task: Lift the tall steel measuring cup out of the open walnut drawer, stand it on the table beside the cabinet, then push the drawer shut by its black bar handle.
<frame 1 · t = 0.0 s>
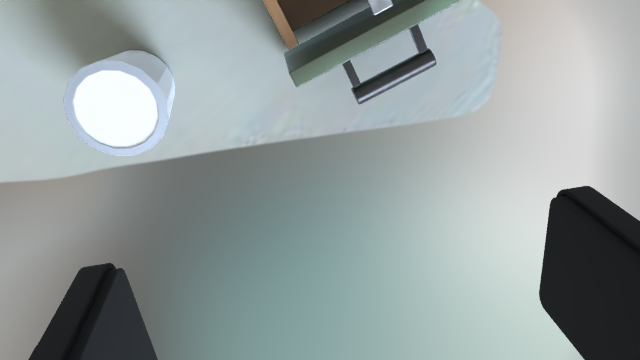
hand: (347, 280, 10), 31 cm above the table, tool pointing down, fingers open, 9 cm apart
white cylinder: (140, 84, 39), on the table
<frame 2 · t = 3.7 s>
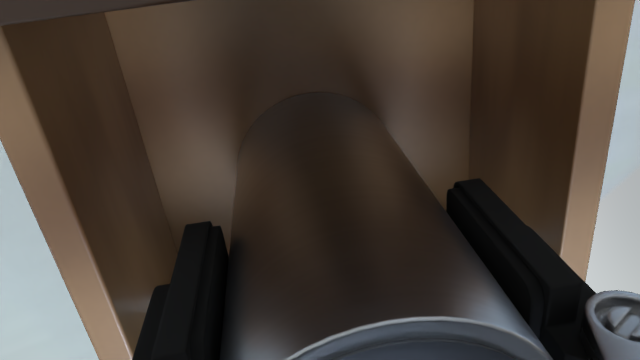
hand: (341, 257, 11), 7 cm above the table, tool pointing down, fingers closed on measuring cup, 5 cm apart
measuring cup: (317, 168, 16), point 2 cm above the table, touching drawer, gripper
drawer: (329, 229, 14), point 4 cm above the table, slide at 11.5 cm, touching measuring cup
when the fingers open (5 cm above the table, at t = 11.8 s): measuring cup stays where it is, on the table.
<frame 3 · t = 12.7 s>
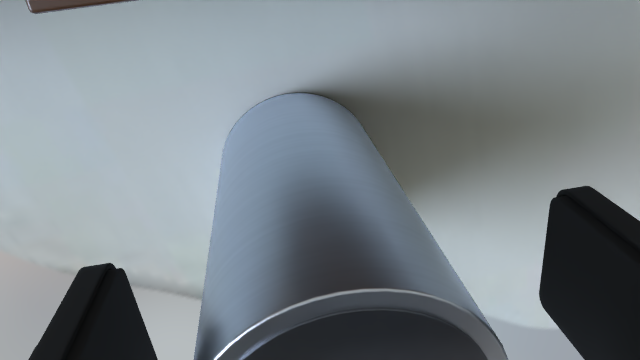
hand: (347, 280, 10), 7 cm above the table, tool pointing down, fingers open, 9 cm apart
measuring cup: (297, 165, 16), on the table
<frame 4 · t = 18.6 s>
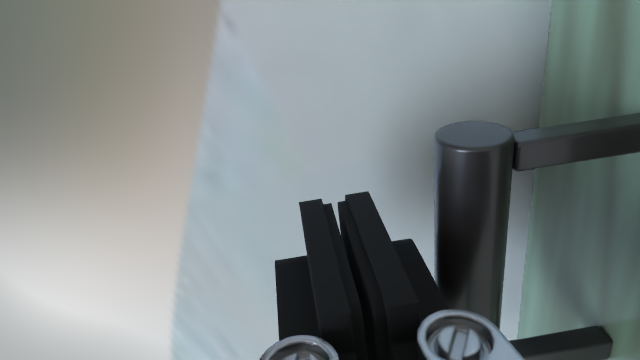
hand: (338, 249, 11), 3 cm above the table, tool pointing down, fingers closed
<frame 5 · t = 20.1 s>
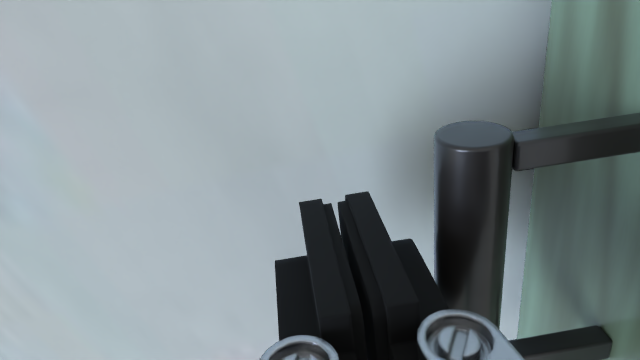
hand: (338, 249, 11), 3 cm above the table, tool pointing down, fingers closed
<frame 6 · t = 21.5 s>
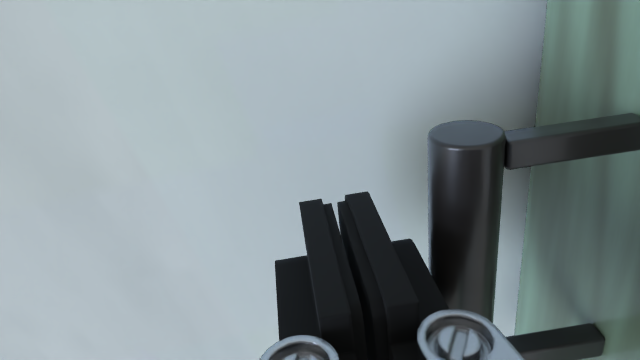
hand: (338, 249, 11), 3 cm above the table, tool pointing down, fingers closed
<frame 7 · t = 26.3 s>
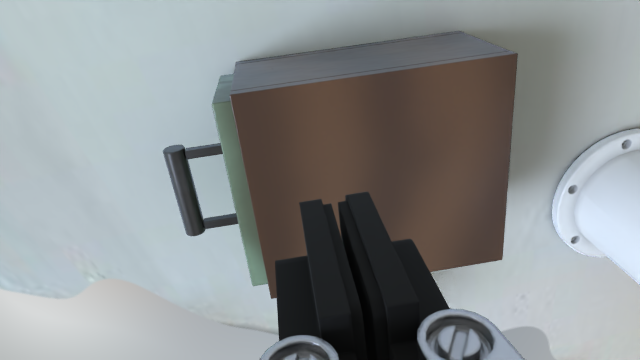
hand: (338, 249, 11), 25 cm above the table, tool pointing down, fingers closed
cabinet: (357, 139, 37), on the table
drawer: (315, 168, 33), point 4 cm above the table, slide at 0.0 cm, touching cabinet
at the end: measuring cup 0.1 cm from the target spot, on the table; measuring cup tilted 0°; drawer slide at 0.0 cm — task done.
